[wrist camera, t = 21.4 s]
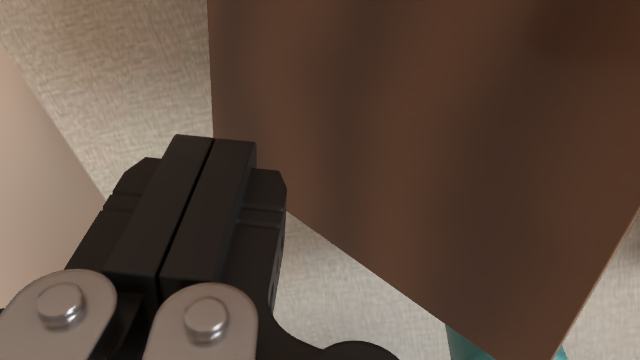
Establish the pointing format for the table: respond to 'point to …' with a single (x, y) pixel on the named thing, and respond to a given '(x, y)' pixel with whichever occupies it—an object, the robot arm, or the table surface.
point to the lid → (448, 145)
